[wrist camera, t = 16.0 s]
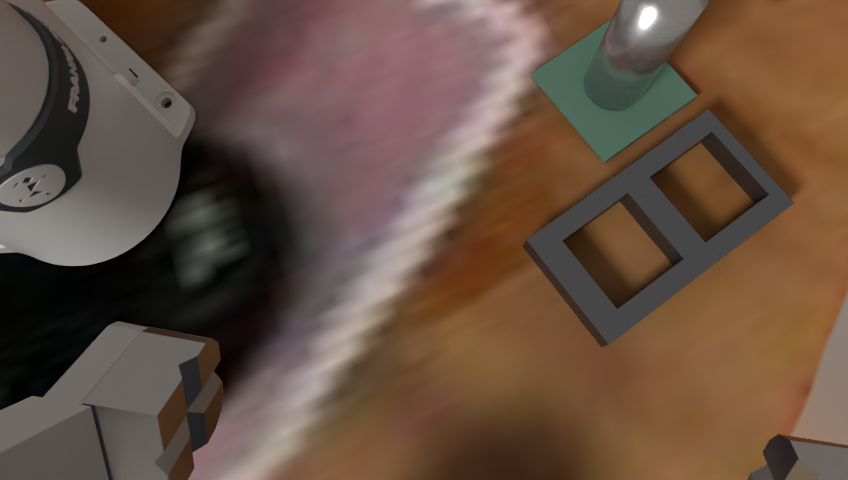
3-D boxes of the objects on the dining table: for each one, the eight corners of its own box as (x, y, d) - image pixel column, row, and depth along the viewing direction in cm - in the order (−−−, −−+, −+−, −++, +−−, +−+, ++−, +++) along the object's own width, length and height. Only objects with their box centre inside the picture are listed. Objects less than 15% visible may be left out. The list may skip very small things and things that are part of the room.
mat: (531, 76, 49) (532, 72, 49) (619, 16, 51) (621, 12, 50) (604, 163, 48) (606, 160, 47) (694, 99, 49) (697, 95, 48)
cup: (571, 77, 49) (616, -22, 37) (617, 46, 49) (676, -61, 38) (608, 122, 48) (666, 35, 36) (655, 90, 48) (727, -6, 37)
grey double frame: (522, 246, 46) (526, 240, 44) (697, 120, 48) (708, 109, 46) (601, 346, 44) (608, 344, 42) (779, 211, 46) (794, 202, 44)
